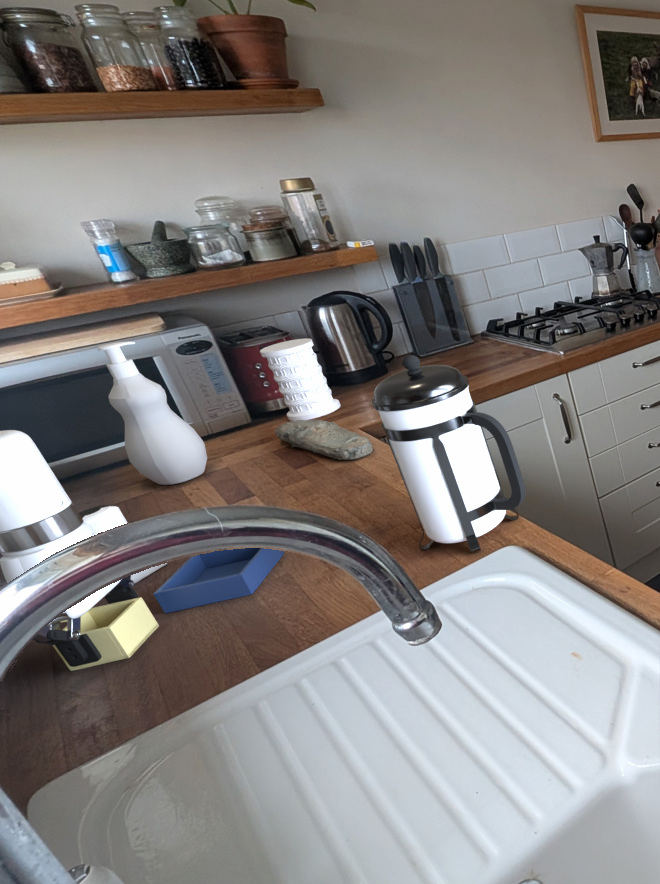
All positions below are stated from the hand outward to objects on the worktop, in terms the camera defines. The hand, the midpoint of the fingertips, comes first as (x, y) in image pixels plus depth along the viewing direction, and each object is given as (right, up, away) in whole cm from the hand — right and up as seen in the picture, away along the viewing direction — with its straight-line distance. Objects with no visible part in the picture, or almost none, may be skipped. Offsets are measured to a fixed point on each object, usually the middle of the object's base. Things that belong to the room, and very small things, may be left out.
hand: (111, 638), depth 90 cm
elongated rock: (-14, +24, +61) cm, 67 cm away
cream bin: (0, -1, +1) cm, 2 cm away
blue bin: (+5, +5, +13) cm, 14 cm away
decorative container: (-33, +31, +84) cm, 95 cm away
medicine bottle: (-15, +4, +18) cm, 23 cm away
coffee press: (+40, +11, +19) cm, 46 cm away
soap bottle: (-39, +17, +53) cm, 68 cm away
